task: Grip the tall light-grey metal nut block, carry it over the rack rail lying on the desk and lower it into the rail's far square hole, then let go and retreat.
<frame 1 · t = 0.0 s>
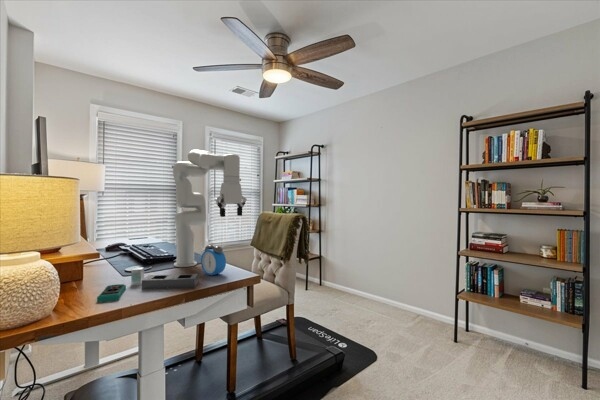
hand: (231, 216, 138), 31 cm above the table, tool pointing down, fingers open, 9 cm apart
nut block: (137, 283, 133), on the table
alarm clock: (213, 274, 149), on the table
rail: (171, 285, 130), on the table
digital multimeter: (112, 296, 117), on the table
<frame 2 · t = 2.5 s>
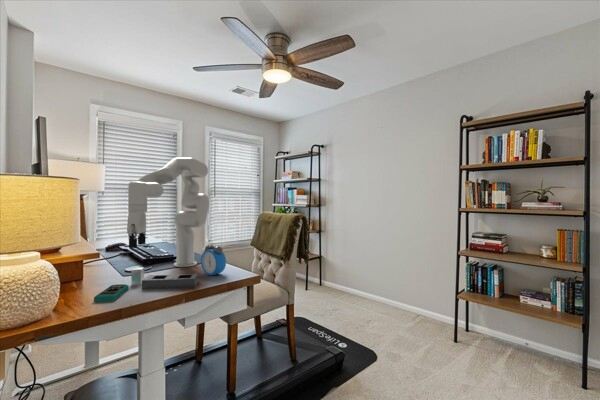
hand: (137, 245, 132), 18 cm above the table, tool pointing down, fingers open, 9 cm apart
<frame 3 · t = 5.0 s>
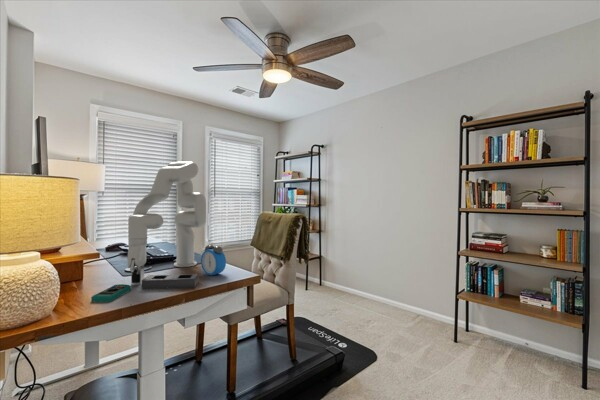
hand: (137, 280, 133), 1 cm above the table, tool pointing down, fingers closed on nut block, 4 cm apart
nut block: (137, 283, 133), on the table, touching gripper
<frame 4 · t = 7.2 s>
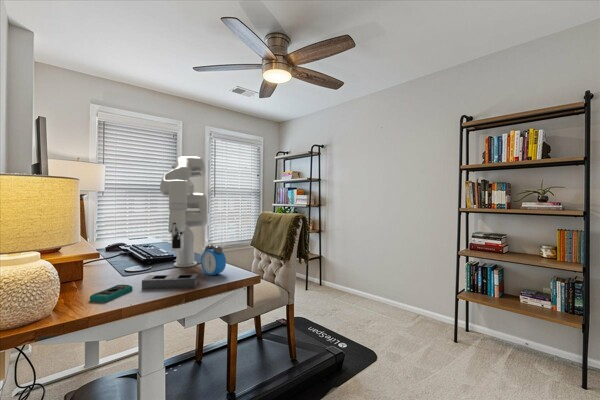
hand: (177, 246, 131), 17 cm above the table, tool pointing down, fingers closed on nut block, 4 cm apart
nut block: (177, 249, 131), point 16 cm above the table, touching gripper
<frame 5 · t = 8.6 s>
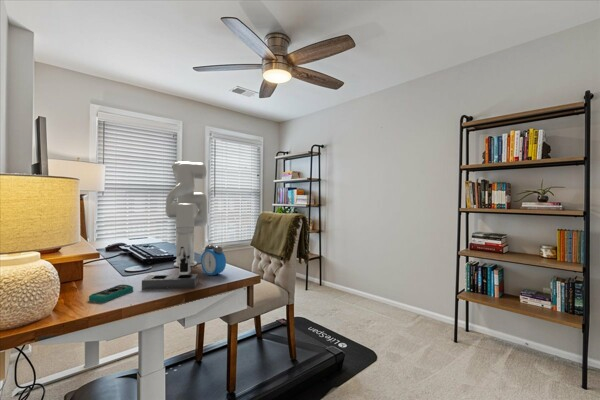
hand: (185, 270, 131), 7 cm above the table, tool pointing down, fingers closed on nut block, 4 cm apart
nut block: (185, 273, 131), point 6 cm above the table, touching gripper
when the fingers open (5 cm above the table, at t = 9.7 s): nut block drops 2 cm, resting on rail.
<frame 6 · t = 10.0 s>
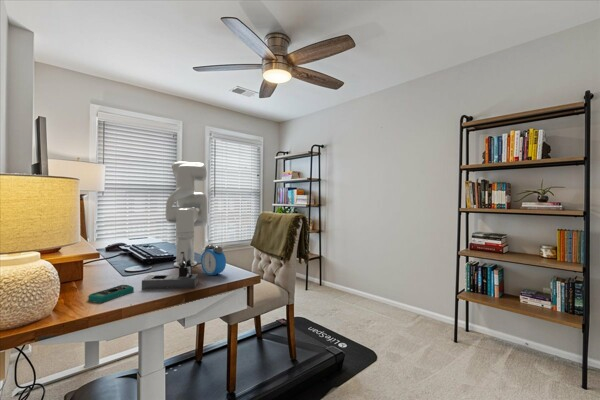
hand: (185, 273, 131), 5 cm above the table, tool pointing down, fingers open, 7 cm apart
nut block: (185, 283, 131), point 1 cm above the table, touching rail
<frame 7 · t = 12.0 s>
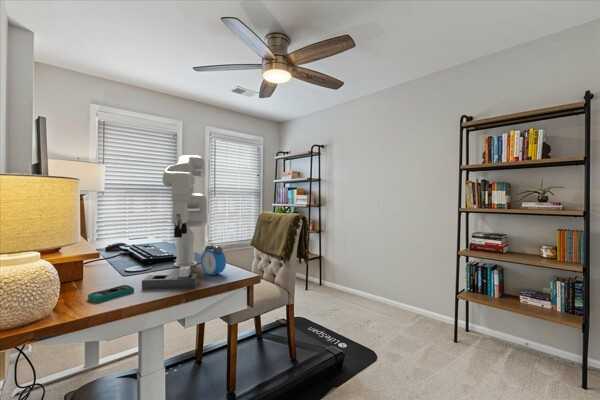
hand: (180, 235, 134), 22 cm above the table, tool pointing down, fingers open, 9 cm apart
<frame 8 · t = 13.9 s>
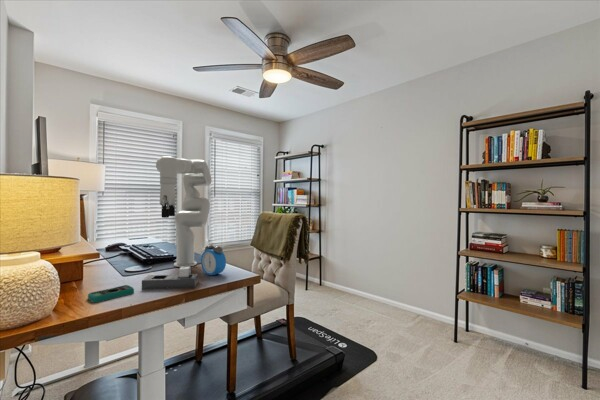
hand: (168, 216, 142), 30 cm above the table, tool pointing down, fingers open, 9 cm apart
at the end: nut block 0.1 cm from the target spot on the rail, point 1.0 cm above the rail's base; nut block tilted 0°; the gripper is holding nothing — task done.
